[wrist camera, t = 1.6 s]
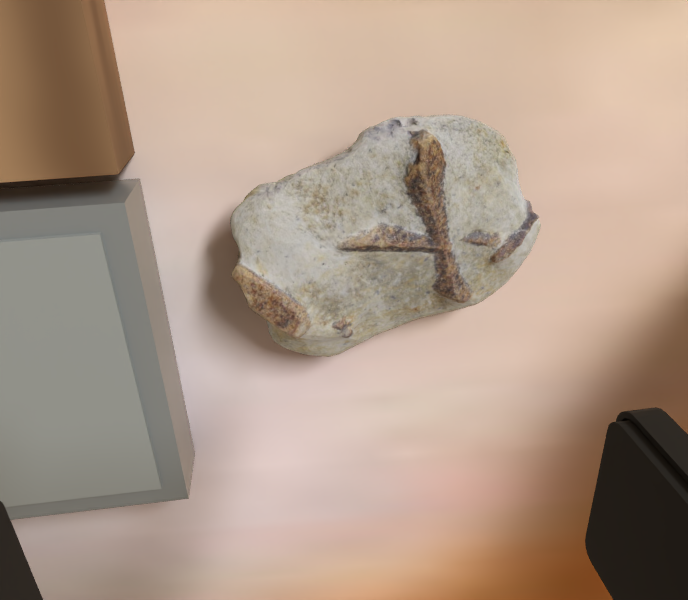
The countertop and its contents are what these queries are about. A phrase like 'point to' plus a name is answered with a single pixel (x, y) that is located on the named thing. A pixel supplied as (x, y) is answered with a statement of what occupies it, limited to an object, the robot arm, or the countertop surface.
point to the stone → (383, 233)
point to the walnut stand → (59, 92)
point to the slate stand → (86, 355)
